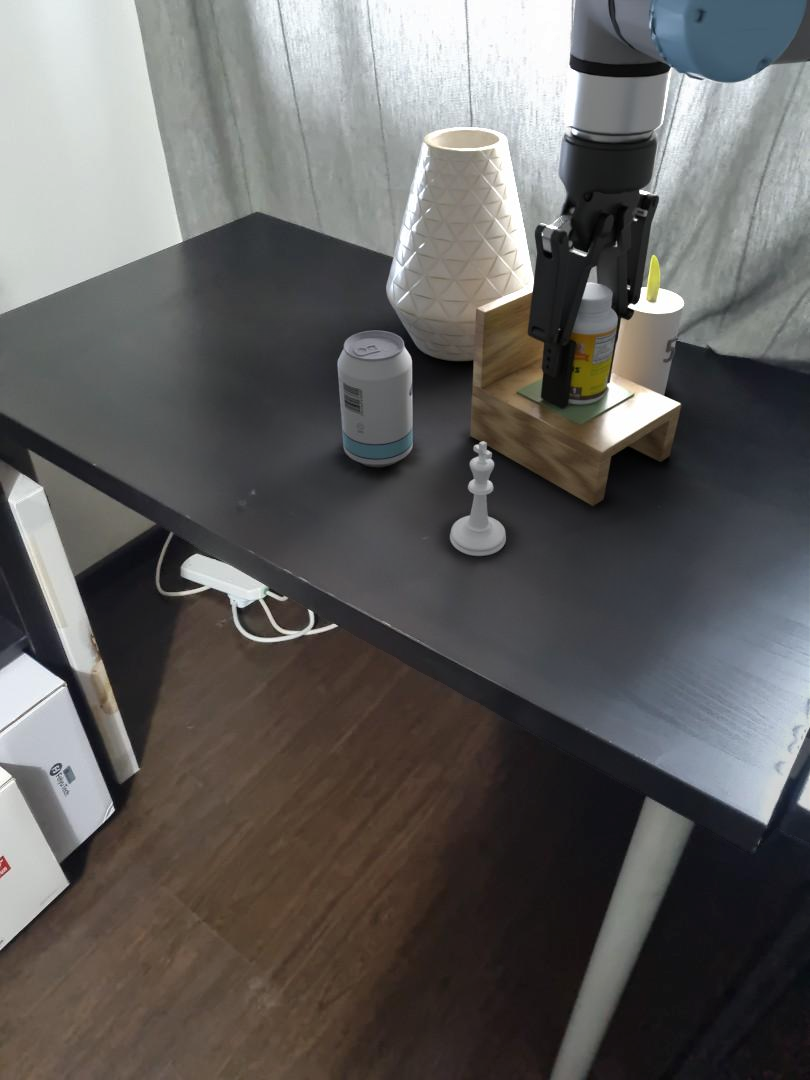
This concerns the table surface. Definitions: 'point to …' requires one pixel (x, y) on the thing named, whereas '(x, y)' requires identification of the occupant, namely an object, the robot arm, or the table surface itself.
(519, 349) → the shelf
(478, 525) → the chess piece
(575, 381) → the supplement bottle
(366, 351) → the beverage can
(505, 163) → the vase
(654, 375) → the candle
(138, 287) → the table surface
